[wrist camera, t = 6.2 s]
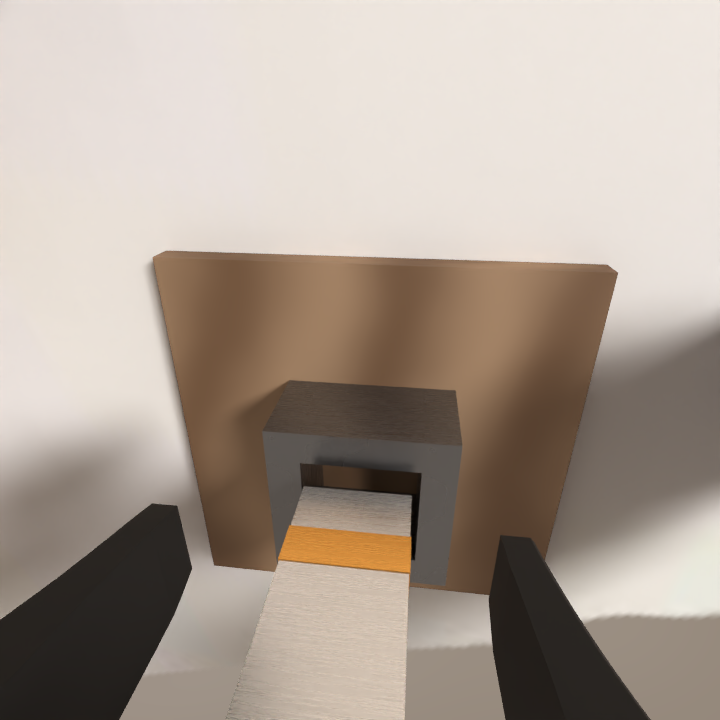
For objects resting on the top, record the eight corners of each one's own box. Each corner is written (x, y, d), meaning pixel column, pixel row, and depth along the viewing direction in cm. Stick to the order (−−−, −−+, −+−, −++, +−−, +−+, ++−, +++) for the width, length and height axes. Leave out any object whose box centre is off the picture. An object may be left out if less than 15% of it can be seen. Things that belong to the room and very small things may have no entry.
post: (412, 494, 15) (405, 744, 9) (407, 572, 16) (398, 827, 10) (302, 485, 15) (224, 717, 9) (308, 561, 17) (243, 802, 11)
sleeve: (455, 390, 18) (462, 446, 15) (441, 516, 21) (445, 586, 17) (289, 380, 18) (262, 431, 15) (298, 503, 21) (277, 568, 18)
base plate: (607, 264, 16) (617, 273, 15) (530, 581, 23) (534, 599, 22) (166, 250, 18) (152, 257, 17) (221, 549, 25) (214, 565, 24)
